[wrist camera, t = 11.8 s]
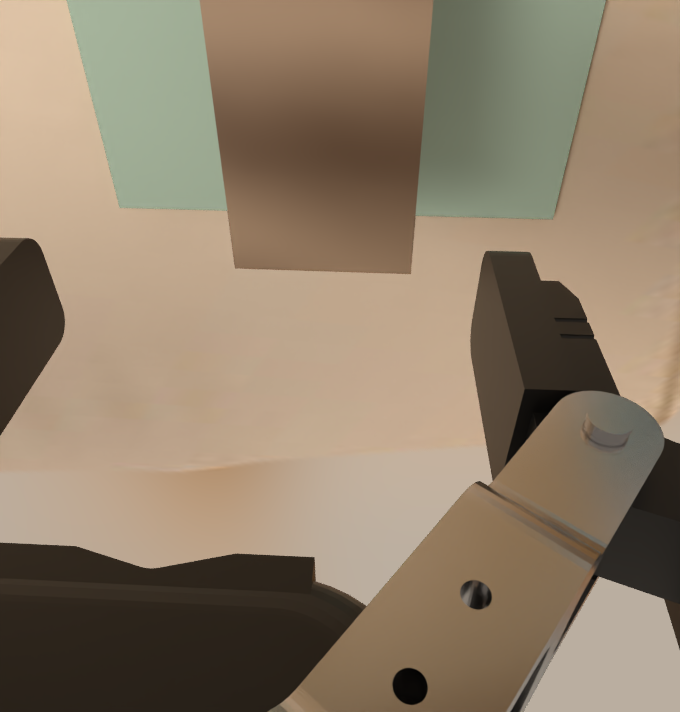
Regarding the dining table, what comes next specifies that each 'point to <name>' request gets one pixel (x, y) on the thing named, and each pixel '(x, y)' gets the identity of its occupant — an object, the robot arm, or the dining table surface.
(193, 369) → the dining table surface
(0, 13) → the dining table surface
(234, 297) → the dining table surface
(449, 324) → the dining table surface
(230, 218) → the stool
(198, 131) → the mat
